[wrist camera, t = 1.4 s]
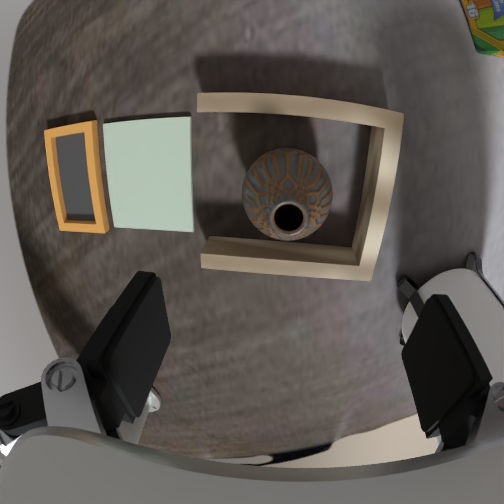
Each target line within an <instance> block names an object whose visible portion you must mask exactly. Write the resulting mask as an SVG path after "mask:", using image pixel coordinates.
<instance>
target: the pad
mask: <svg viewBox="0 0 504 504" xmlns="http://www.w3.org/2000/svg"><path fill="white" fill-rule="evenodd" d="M103 131H104V146H105V158H106V169H107V178H108V187H109V194H110V202H111V209H112V215H113V221H114V227H120V228H138V229H154V230H170V231H185V232H194V211H193V185H192V117H170V118H154V119H142V120H131V121H122V122H114V123H106V124H103Z"/></svg>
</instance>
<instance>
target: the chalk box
mask: <svg viewBox="0 0 504 504" xmlns="http://www.w3.org/2000/svg"><path fill="white" fill-rule="evenodd" d="M460 1H461V3H462V6H463V9H464V11H465V14H466V17H467V20H468V23H469V26H470V29H471V32H472V36H473V39H474V42H475V47H476V51H477V52H478V53H482V54H488V55H493V56H499V57H504V0H460Z"/></svg>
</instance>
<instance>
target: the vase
mask: <svg viewBox="0 0 504 504" xmlns="http://www.w3.org/2000/svg"><path fill="white" fill-rule="evenodd" d="M332 199H333V191H332V184H331V180H330V178H329V175H328V173H327V171H326V170H325V168H324V167H323V166H322V164H321V163H320V162H319V161H318V160H317V159H316V158H315V157H313V156H312V155H310V154H309V153H307V152H305V151H302V150H300V149H296V148H277V149H273V150H271V151H268V152H266V153H264V154H263V155H261V156H260V157H259V158H258V159H256V160H255V161H254V162H253V164H252V165H251V166H250V168H249V169H248V171H247V173H246V175H245V178H244V181H243V185H242V202H243V206H244V209H245V212H246V214H247V216H248V218H249V219H250V221H251V222H252V223H253V225H254V226H255V227H256V228H257V229H258V230H260V231H261V232H262V233H264V234H265V235H267V236H269V237H272V238H275V239H278V240H286V241H290V240H297V239H301V238H304V237H306V236H308V235H310V234H312V233H313V232H315V231H316V230H317V229H318V228H319V227H320V226H321V225H322V224H323V222H324V221H325V220H326V218H327V216H328V214H329V211H330V209H331V205H332Z"/></svg>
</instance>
